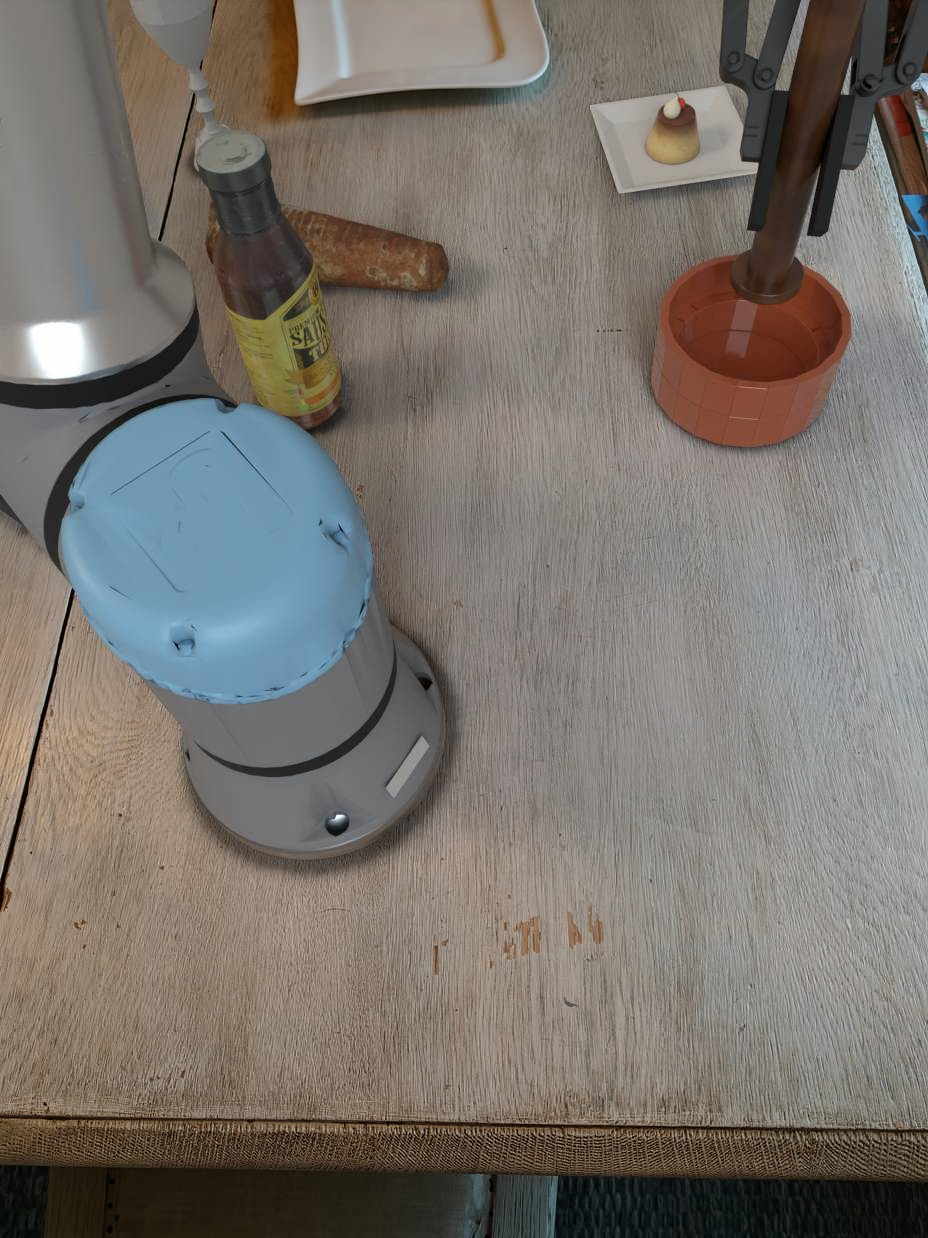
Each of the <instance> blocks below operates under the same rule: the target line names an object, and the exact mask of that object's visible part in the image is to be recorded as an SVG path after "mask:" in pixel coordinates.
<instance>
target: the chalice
mask: <svg viewBox="0 0 928 1238" xmlns="http://www.w3.org/2000/svg"><path fill="white" fill-rule="evenodd" d="M128 1H129V4H130V6H131V9H132V12H133V14H134V17H135V19H136V20H137V21H138V22H139V24H140V26H142V29H144V31H145V32H146V33H147V35H148V36H149V37H150V39H151V40H152V41H153V43H155V44H156V45H157V46H158V48H160V49H161V50H162V52H163V53H164V54H165V55H166V56H167V57H168V58H169V59H170V60H171V61H172V62H173V63H174V64H175V65H179V66H185V67H186V69H187V70H188V75H189V84H188V87H189V89H190V90H191V91H192V92H193V93H194V94H195V96H196V104H195V106H194V110H195V111H196V112H198V113H199V114H200V115H201V116H202V118H203V120H204V127H203V128H202V129H201V130H200V131H199V132H198V134H197V137H196V138H195V143H194V144H195V148H194V158H193V167H194V168H195V170H196V171H197V172H199V169H198V166H197V163H196V154H197V152H198V149H199V147H200V146H201V145H202V144H203V143H204V142H205V141H206V140H207V139H209V138H211V137H213V136H215V135H218V134H221V133H223V132H228V131H235V130H234V129H233V128H231V127H230V126H229V125H226V124H223V123H219V122H218V120H217V119H216V116H215V114H216V113H215V108H216V107H217V102H216V101H215V100H214V99H212V98H211V97H210V95H209V94H208V86H209V84H210V83H209V80H208V79H207V78H205V76H204V74H203V73H202V71H201V68H200V62H201V61H203V60H204V59H205V58H206V57H207V56H208V50H209V43H210V37H211V31H212V24H213V3H214V1H213V0H128Z"/></svg>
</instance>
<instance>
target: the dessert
mask: <svg viewBox="0 0 928 1238" xmlns="http://www.w3.org/2000/svg"><path fill="white" fill-rule="evenodd" d="M589 109H590V112H591V115H592V119H593V121H594V124H595V127H596V130H597V133H598V136H599V140H600V142H601V145H602V148H603V150H604V154H605V157H606V160H607V162H608V163H607V164H608V167H609V169H610V172H611V175H612V178H613V181H614V184H615V188H616V191H617V193H618V194H621V195H622V194H628V193H635V192H643V191H650V190H655V189H662V188H669V187H676V186H683V185H689V184H697V183H703V182H709V181H710V182H711V181H717V180H723V179H730V178H736V177H744V176H750V175H757V170H758V164H759V163H753V162H741V157H740V145H741V140H742V134H743V128H744V123H743V122H742V120H741V118H740V115H739V113H738V111H737V108H736V106H735V104H734V102H733V100H732V98H731V96H730V93H729V91H728V89H727V86H726V85H717V86H710V87H704V88H697V89H690V90H683V91H677V90H674V92H670V93H663V94H662V93H661V94H656V95H650V96H649V95H648V96H643V97H635V98H628V99H623V100H615V101H608V102H601V103H594V104H590V105H589Z"/></svg>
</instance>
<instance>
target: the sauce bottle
mask: <svg viewBox="0 0 928 1238" xmlns="http://www.w3.org/2000/svg"><path fill="white" fill-rule="evenodd" d="M196 163H197V166H198V169H199V171H198V173H199V175H200V178H201V181H202V183H203V184H204V185H205V186H206V187H207V190H208V192H209V196H210V198H211V202H212V201H213V204H214V208H215V211H216V219H217V222H218V224H219V226H220V227H219V233H218V234H217V235H216V236H215V242H214V249H213V263H214V265H213V268H214V272H215V275H216V278H217V282H218V284H219V288H220V291H221V297H222V301H223V305H224V307H225V309H226V314H227V316H228V319H229V321H230V324H231V327H232V329H233V333H234V335H235V338H236V342H237V345H238V348H239V351H240V353H241V356H242V360H243V362H244V365H245V368H246V371H247V374H248V376H249V377H248V378H249V381H250V383H251V385H252V388H253V391H254V395H255V397H256V400H257V402H258V403H259V405H260V406H262V407H265V408H267V409H270V410H272V411H274V412H276V413H278V414H280V415H282V416H284V417H286V418H288V419H290V420H291V421H293V422H295V423H296V424H298V425H299V426H300V427H302V428H303V429H304V430H305V431H307V430H309V429H313V428H316V427H317V426H319V425H322V424H323V423H325V422H326V421H327V420H328V419H330V418H331V417H332V416H333V415H334V414H335V413H336V412H337V411H338V409H339V406H340V405H341V402H342V396H343V395H342V374H341V371H340V367H339V362H338V358H337V354H336V349H335V345H334V340H333V337H332V333H331V327H330V323H329V320H328V316H327V311H326V306H325V303H324V298H323V294H322V290H321V286H320V285H321V284H319V281H318V277H317V272H316V267H315V264H314V260H313V256H312V254H311V253H310V252H309V251H308V249H307V248H306V246H305V245H304V243H303V242H302V240H301V239H300V237H299V236H298V234H297V233H296V231H295V230H294V228H293V227H292V226H291V224H290V223H289V221H288V220H287V218H286V217H285V215H284V214H283V212H282V211H281V205H280V201H279V199H278V197H277V193H276V190H275V184H274V181H273V178H272V167H273V165H272V160H271V157H270V154H269V150H268V147H267V144H266V142H265V140H264V139H263V138H261V137H260V136H259V135H257V134H255V133H254V132H251V131H247V130H237V129H236V130H234V131H228V132H223V133H221V134H218V135H215V136H213V137H211V138H209V139H207V140H206V141H205V142H204V143H203V144H202V145H201V146H200V147H199V149H198V152H197V154H196Z"/></svg>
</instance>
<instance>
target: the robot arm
mask: <svg viewBox="0 0 928 1238" xmlns="http://www.w3.org/2000/svg"><path fill="white" fill-rule="evenodd" d="M801 3H802V0H775V2H774V4H773V8H772V12H771V16H770V18H769V22H768V25H767V29H766V33H765V36H764V39H763V43H762V46H761V50H760V53H759V55H758V58H756V57H754V56H752V55H750V54H747V53H746V51H747V39H748V38H747V37H748V24H749V10H750V9H749V8H750V0H723V2H722V17H721V31H720V32H721V33H720V48H719V62H718V64H719V65H718V76H719V79H720V80H721V82H723V83H724V84H728V85H733V86H735V87H737V88H740V90H742V91H743V92H744V93H745V95H746V98H747V105H746V111H745V118H744V123H743V126H744V128H743V134H742V140H741V145H740V157H741V162H753V163H759V164H758V170H757V174H755V175H756V176H755V181H754V187H753V192H752V198H751V204H750V209H749V214H748V221H747V224H746V225H747V226H746V231H748V232H755V231H758V232H760V231H761V230H762V229H763V227H764V226H765V221H766V216H767V211H768V205H769V200H770V194H771V189H772V184H773V178H774V173H775V167H776V162H777V157H778V151H779V146H780V140H781V135H782V130H783V124H784V119H785V113H786V108H787V103H788V97H789V91H788V90H783V89H782V90H780V89H776V85H777V80H778V79H779V75H780V72H781V68H782V64H783V61H784V58H785V55H786V52H787V49H788V45H789V41H790V38H791V35H792V32H793V29H794V26H795V25H794V24H795V22H796V20H797V19H796V18H797V15H798V13H799V12H798V11H799V9H800V5H801ZM889 4H890V0H867V4H866V7H865V11H864V14H863V18H862V21H861V25H860V28H859V32H858V35H857V39H856V42H855V46H854V49H853V53H852V56H851V60H850V73H849V84H848V85H849V87H848V94H844V93H841V95H840V98H839V101H838V105H837V108H836V112H835V115H834V119H833V122H832V126H831V129H830V133H829V136H828V140H827V143H826V147H825V150H824V154H823V157H822V161H821V165H820V169H819V172H818V176H817V179H816V184H815V189H814V190H815V191H814V195H813V196H814V197H813V199H812V206H811V211H810V216H809V221H808V225H807V230H806V231H807V232H806V237H814V238H815V237H816V238H821V237H823V236H824V235H825V234H827V233H828V232H829V229H830V224H831V219H832V214H833V209H834V204H835V200H836V194H837V189H838V184H839V179H840V174H841V171H856V169H858V167H860V165H861V163H862V162H863V160H864V158H865V157H866V153H867V150H868V149H867V148H868V143H869V138H870V133H871V129H872V124H873V120H874V115H875V111H876V106H877V103H878V102H879V101H880V100H882V99H884V98H888V97H891V96H900V95H903V94H904V93H906V92H907V91H908V90H909V89H910V88H911V87H912V85H914V83H915V82H916V81H917V80H918V79H919V78H920V76H921V74H922V72H923V69H924V66H925V64H926V60H927V57H928V0H912V1H911V4H910V7H909V10H908V13H907V17H906V20H905V23H904V26H903V28H902V32H901V35H900V38H899V42H898V44H897V47H896V50H895V55H894V57H893V61H892V63H890V64H888V65H884V63H885V53H886V42H887V41H886V40H887V29H888V27H887V26H888V17H889V7H890V5H889ZM115 46H116V45H115V39H114V36H113V28H112V25H111V19H110V14H109V9H108V3H107V0H0V511H2V512H3V513H4V514H6V515H7V516H9V517H10V518H12V519H13V520H14V521H15V522H17V523H18V524H19V525H21V526H23V527H24V528H25V529H26V530H27V531H28V532H29V534H30V535H31V536H32V537H33V539H34V540H35V541H36V543H37V544H38V546H39V547H40V548H41V549H42V551H43V552H44V553H45V554H46V556H47V557H48V558H49V560H50V562H52V563H53V565H54V566H55V567H56V568H57V570H58V571H59V572H60V573H61V574H62V576H63V577H64V579H66V581H67V582H68V584H69V585H70V587H71V588H72V589H73V591H74V592H75V594H76V596H77V598H78V600H79V606H80V609H81V611H82V612H83V615H84V616H85V618H86V620H87V621H88V624H89V625H90V626H91V627H92V629H93V630H94V631H95V633H96V635H97V636H98V638H99V639H100V641H102V642H103V644H105V646H106V647H107V648H108V649H109V650H110V651H111V653H113V654H114V655H115V656H116V657H117V658H118V659H119V661H121V662H123V663H124V664H126V665H128V666H129V667H131V668H132V669H133V671H134V672H135V673H136V674H137V676H138V677H139V678H140V679H141V680H142V681H143V683H144V684H145V685H146V686H147V688H148V689H149V690H150V691H151V693H152V694H153V695H154V696H155V698H157V700H158V701H159V702H160V703H161V704H162V706H164V708H165V709H166V710H167V712H169V714H170V715H171V717H172V718H173V719H174V720H175V721H176V722H177V723H178V725H179V726H180V727H181V728H182V753H183V762H184V766H185V771H186V774H187V777H188V780H189V782H190V786H191V787H192V788H193V791H194V793H195V796H196V797H197V798H198V800H199V801H200V803H201V804H202V806H203V807H204V808H205V809H206V811H207V812H208V813H209V815H211V817H212V818H213V819H214V820H215V821H216V822H217V823H218V824H219V825H220V826H221V827H222V828H223V829H224V830H225V831H226V832H227V833H229V834H230V835H231V836H233V838H235V839H236V840H238V841H239V842H241V843H243V844H245V846H248V847H250V848H252V849H254V850H256V851H258V852H260V853H264V854H266V855H270V856H273V857H277V858H282V859H287V860H288V859H289V860H296V861H301V860H302V861H313V860H315V861H316V860H325V859H330V858H331V859H332V858H337V857H341V856H343V855H347V854H351V853H354V852H356V851H359V850H361V849H363V848H366V847H367V846H370V845H371V844H374V843H375V842H377V841H379V840H380V839H382V838H384V837H385V836H387V835H388V834H389V833H392V831H394V830H395V829H397V827H398V826H400V825H401V824H402V823H403V822H404V821H405V820H406V819H407V818H408V817H409V816H410V815H411V814H412V813H413V812H414V811H415V810H416V809H417V808H418V806H419V805H420V803H421V802H422V801H423V799H424V798H425V796H426V795H427V793H428V792H429V789H430V788H431V786H432V784H433V782H434V780H435V778H436V776H437V774H438V770H439V768H440V765H441V763H442V758H443V755H444V750H445V744H446V734H447V733H446V732H447V731H446V730H447V728H446V727H447V726H446V725H447V724H446V714H445V707H444V702H443V698H442V697H443V696H442V692H441V689H440V685H439V682H438V679H437V677H436V674H435V672H434V669H433V668H432V666H431V664H430V662H429V660H428V659H427V658H426V655H424V653H423V651H422V650H421V649H420V648H419V647H418V645H417V644H415V642H414V641H413V640H412V639H410V637H409V636H407V634H405V633H404V632H402V631H401V630H400V629H399V628H397V627H396V626H394V625H393V623H390V621H389V618H388V613H387V610H386V606H385V603H384V598H383V595H382V592H381V587H380V583H379V580H378V576H377V572H376V568H375V564H374V555H373V550H372V545H371V543H370V538H371V537H370V534H369V532H368V529H367V527H366V520H365V516H364V514H363V511H362V508H361V507H360V505H359V504H358V503H357V502H356V499H355V495H354V492H353V491H352V488H351V487H350V486H349V485H348V483H347V481H346V479H345V477H344V475H343V474H342V471H341V470H340V468H339V466H338V465H337V463H336V462H335V460H334V459H333V457H332V455H331V454H329V453H328V451H327V450H326V448H325V447H324V445H322V444H321V443H320V442H319V441H318V440H317V438H315V437H314V436H313V435H312V434H310V433H309V432H308V431H307V430H304V429H303V428H302V427H300V426H299V425H298V424H296V423H295V422H293V421H291V420H290V419H288V418H286V417H284V416H282V415H280V414H278V413H276V412H274V411H272V410H270V409H267V408H265V407H262V405H260V404H255V403H251V402H247V401H243V402H241V403H240V404H239V403H238V402H237V401H236V400H235V399H234V398H233V397H232V396H231V394H229V393H228V392H227V391H226V390H225V389H224V388H223V387H222V386H221V385H220V384H219V383H218V382H217V380H216V379H215V377H214V375H213V374H212V373H213V372H212V371H211V369H210V366H209V365H208V361H207V357H206V352H205V344H204V338H203V332H202V326H201V318H200V312H199V308H198V302H197V295H196V288H195V284H194V280H193V275H192V273H191V271H190V270H189V267H188V266H187V264H186V263H185V261H184V260H183V259H182V258H181V256H180V255H179V254H177V252H175V251H174V250H173V249H172V248H170V246H168V245H166V244H165V243H163V242H162V241H160V240H159V239H157V238H155V237H153V236H152V235H151V233H150V229H149V224H148V218H147V211H146V208H145V202H144V195H143V191H142V185H141V181H140V180H141V179H140V175H139V169H138V164H137V159H136V154H135V147H134V143H133V136H132V132H131V131H132V130H131V126H130V121H129V116H128V110H127V105H126V100H125V95H124V94H125V93H124V89H123V82H122V78H121V73H120V67H119V63H118V57H117V51H116V47H115Z"/></svg>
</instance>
